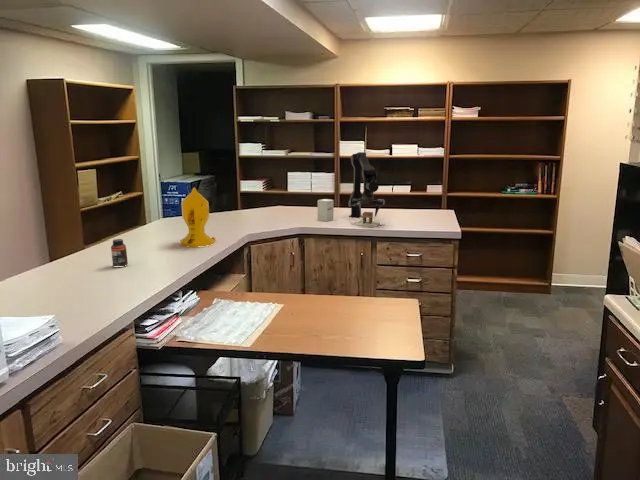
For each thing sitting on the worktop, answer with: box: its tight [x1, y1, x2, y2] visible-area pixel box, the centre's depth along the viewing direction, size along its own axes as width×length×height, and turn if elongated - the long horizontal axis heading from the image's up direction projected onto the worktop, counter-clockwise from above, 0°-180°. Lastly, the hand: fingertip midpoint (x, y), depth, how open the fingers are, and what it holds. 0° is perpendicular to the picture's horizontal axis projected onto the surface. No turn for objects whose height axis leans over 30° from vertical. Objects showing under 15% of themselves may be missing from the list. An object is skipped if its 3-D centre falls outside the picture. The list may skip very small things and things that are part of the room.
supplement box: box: [316, 198, 334, 222], centre depth 319 cm, size 7×7×13 cm
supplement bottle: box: [110, 238, 129, 267], centre depth 218 cm, size 6×6×11 cm
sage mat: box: [354, 219, 381, 228], centre depth 307 cm, size 12×12×1 cm
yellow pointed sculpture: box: [179, 187, 217, 247], centre depth 256 cm, size 18×24×28 cm
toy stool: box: [362, 211, 374, 224], centre depth 306 cm, size 5×5×6 cm
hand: (367, 216), depth 306 cm, fingers open, 9 cm apart
